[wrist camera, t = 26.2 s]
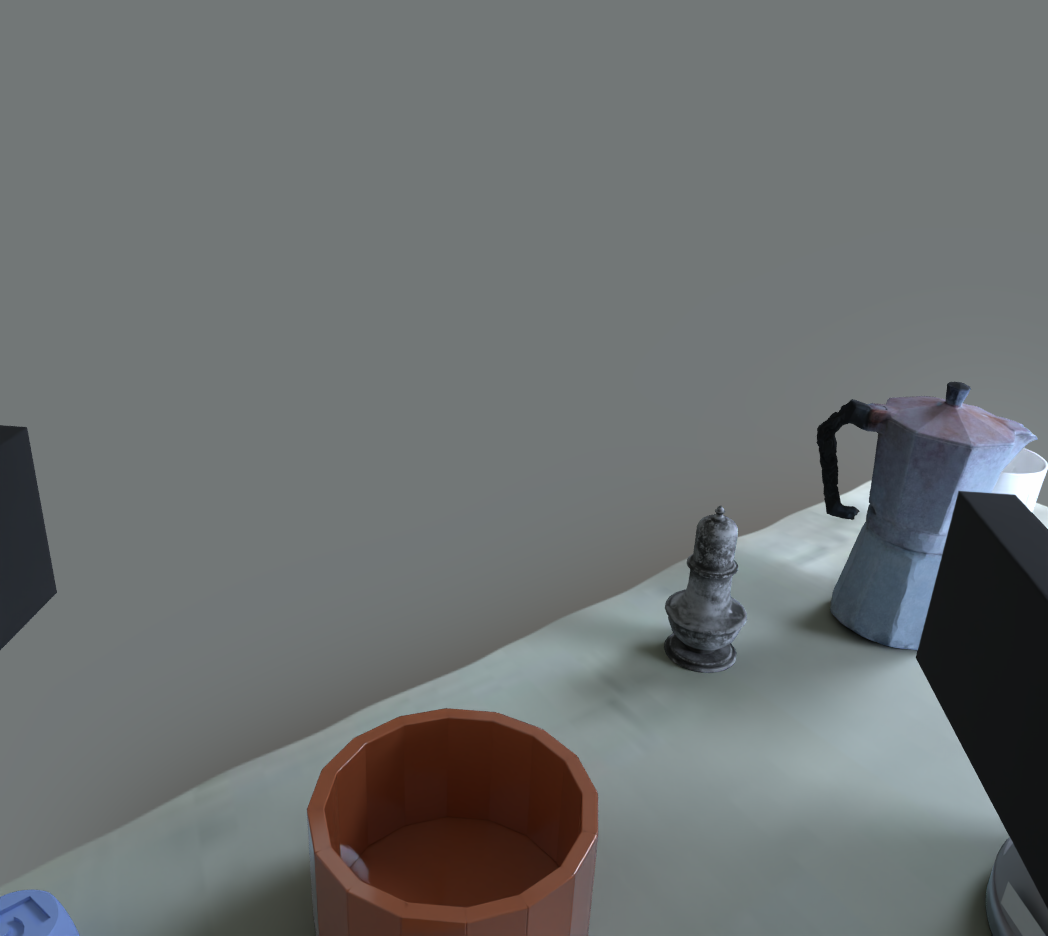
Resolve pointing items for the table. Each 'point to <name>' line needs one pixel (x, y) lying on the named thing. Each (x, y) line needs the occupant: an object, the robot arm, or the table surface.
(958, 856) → the table surface
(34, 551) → the robot arm
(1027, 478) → the white cup
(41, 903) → the decorative dice
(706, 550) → the salt shaker
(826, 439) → the moka pot
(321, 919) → the pot
